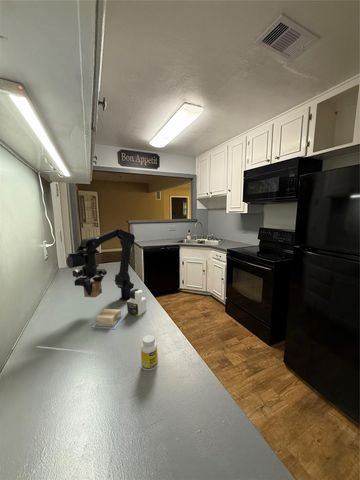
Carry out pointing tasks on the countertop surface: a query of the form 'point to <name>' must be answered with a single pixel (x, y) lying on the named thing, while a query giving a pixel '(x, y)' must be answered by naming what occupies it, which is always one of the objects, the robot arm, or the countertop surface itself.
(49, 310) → the countertop surface
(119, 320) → the blueprint board
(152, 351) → the supplement bottle
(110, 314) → the maple slab
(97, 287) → the walnut cube
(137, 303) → the medicine bottle
